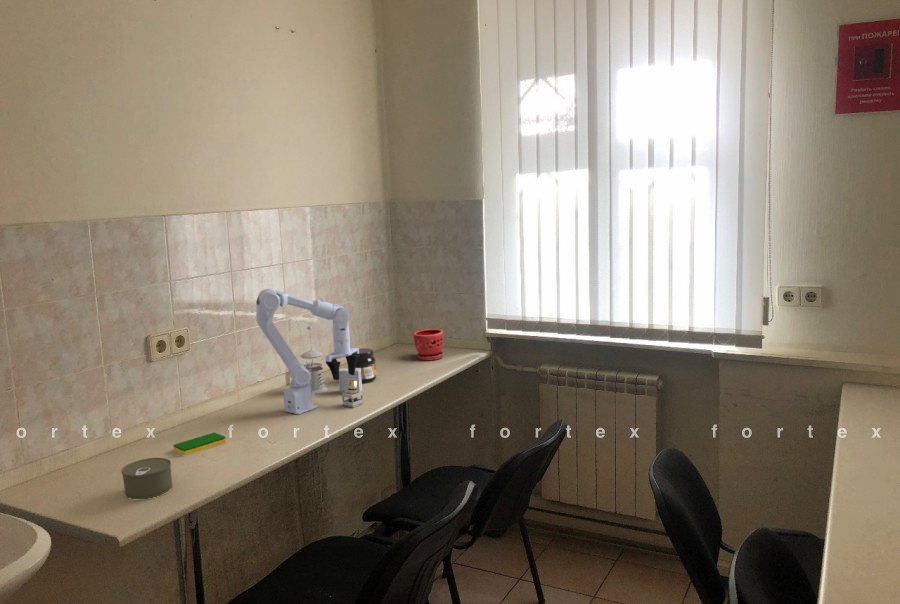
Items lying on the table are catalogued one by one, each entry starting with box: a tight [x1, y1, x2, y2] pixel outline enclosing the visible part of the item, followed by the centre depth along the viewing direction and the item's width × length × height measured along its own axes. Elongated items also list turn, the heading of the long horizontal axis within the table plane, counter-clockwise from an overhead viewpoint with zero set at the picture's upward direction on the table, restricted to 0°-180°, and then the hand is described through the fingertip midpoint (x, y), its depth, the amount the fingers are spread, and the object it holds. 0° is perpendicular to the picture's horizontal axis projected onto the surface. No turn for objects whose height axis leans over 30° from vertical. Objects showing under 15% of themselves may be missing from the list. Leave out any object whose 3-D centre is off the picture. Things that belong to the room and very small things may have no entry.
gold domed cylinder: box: [348, 380, 358, 402], centre depth 260 cm, size 3×3×8 cm
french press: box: [300, 325, 328, 394], centre depth 278 cm, size 10×12×25 cm
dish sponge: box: [172, 432, 227, 456], centre depth 225 cm, size 7×14×2 cm, turn 137°
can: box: [121, 457, 174, 500], centre depth 193 cm, size 12×12×7 cm
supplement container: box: [356, 347, 377, 384], centre depth 291 cm, size 10×10×12 cm
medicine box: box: [338, 367, 363, 394], centre depth 276 cm, size 8×4×9 cm, turn 84°
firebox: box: [341, 390, 364, 408], centre depth 260 cm, size 5×5×4 cm
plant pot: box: [413, 328, 445, 361], centre depth 322 cm, size 13×13×12 cm
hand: (344, 377), depth 262 cm, fingers open, 7 cm apart
